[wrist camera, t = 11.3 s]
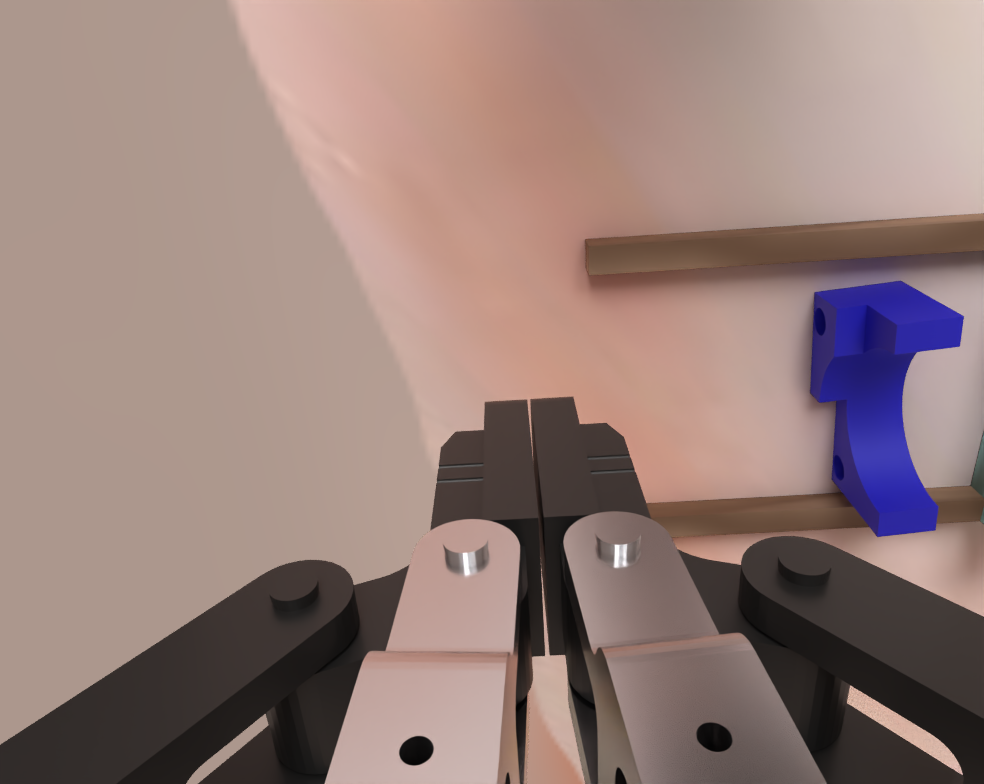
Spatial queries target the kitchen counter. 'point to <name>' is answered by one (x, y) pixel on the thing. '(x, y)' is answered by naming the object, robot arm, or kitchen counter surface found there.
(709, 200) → the kitchen counter surface
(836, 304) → the cable clip
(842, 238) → the guide channel
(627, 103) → the kitchen counter surface
